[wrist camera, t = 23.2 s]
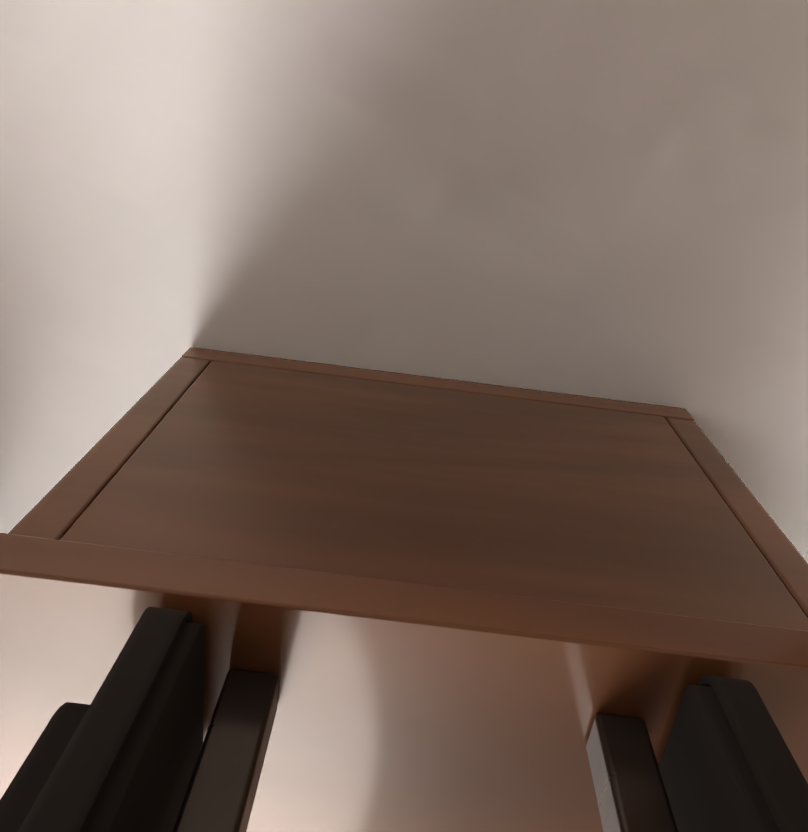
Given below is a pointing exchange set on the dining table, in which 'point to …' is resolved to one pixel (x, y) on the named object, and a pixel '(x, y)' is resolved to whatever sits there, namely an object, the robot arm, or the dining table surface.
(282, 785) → the wooden box lid
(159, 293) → the dining table surface
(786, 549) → the open wooden cabinet
